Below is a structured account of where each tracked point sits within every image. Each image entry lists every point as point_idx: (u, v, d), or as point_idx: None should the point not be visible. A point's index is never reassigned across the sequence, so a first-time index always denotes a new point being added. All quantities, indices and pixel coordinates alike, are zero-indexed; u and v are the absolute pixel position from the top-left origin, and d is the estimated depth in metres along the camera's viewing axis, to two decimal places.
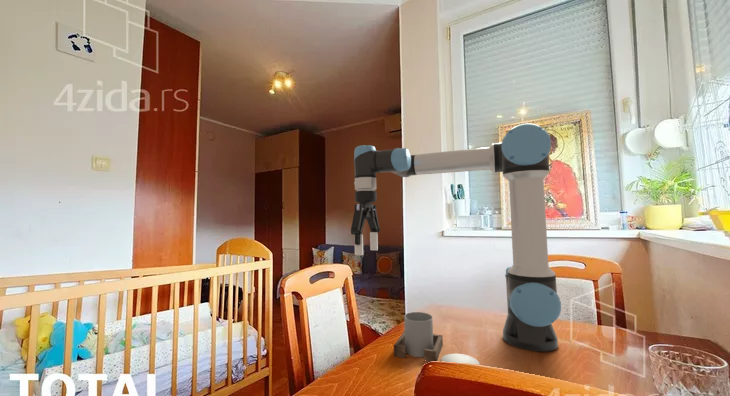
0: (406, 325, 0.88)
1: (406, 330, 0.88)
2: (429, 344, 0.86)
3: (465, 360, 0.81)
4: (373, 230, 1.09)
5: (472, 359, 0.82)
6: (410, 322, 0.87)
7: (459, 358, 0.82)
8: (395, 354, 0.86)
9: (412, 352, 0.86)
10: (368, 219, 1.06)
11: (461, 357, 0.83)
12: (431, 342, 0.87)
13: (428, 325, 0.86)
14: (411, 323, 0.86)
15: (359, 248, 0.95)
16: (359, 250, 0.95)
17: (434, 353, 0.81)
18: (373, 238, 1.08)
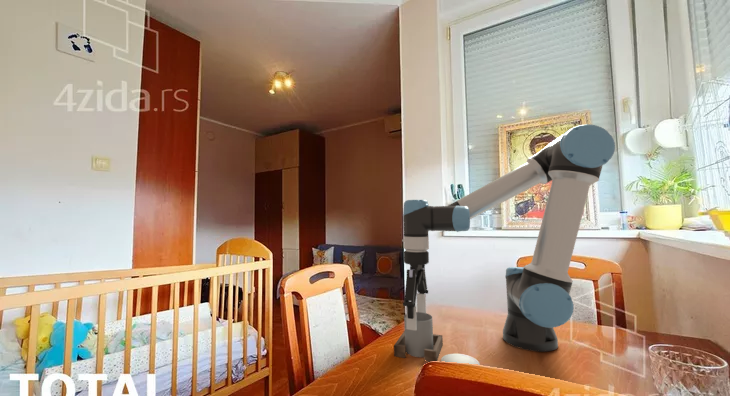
0: None
1: (406, 330, 0.88)
2: (429, 344, 0.86)
3: (465, 360, 0.81)
4: (421, 291, 0.97)
5: (472, 359, 0.82)
6: None
7: (459, 358, 0.82)
8: (395, 354, 0.86)
9: (412, 352, 0.86)
10: None
11: (461, 357, 0.83)
12: (431, 342, 0.87)
13: (428, 325, 0.86)
14: None
15: (412, 322, 0.83)
16: (412, 324, 0.83)
17: (434, 353, 0.81)
18: (421, 301, 0.96)
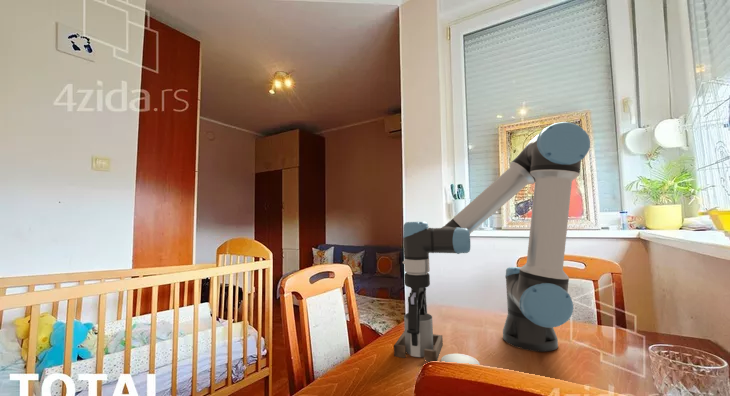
0: (406, 325, 0.88)
1: (406, 330, 0.88)
2: (429, 344, 0.86)
3: (465, 360, 0.81)
4: None
5: (472, 359, 0.82)
6: None
7: (459, 358, 0.82)
8: (395, 354, 0.86)
9: None
10: (417, 305, 0.92)
11: (461, 357, 0.83)
12: (431, 342, 0.87)
13: (428, 325, 0.86)
14: None
15: (416, 349, 0.85)
16: (416, 351, 0.84)
17: (434, 353, 0.81)
18: None
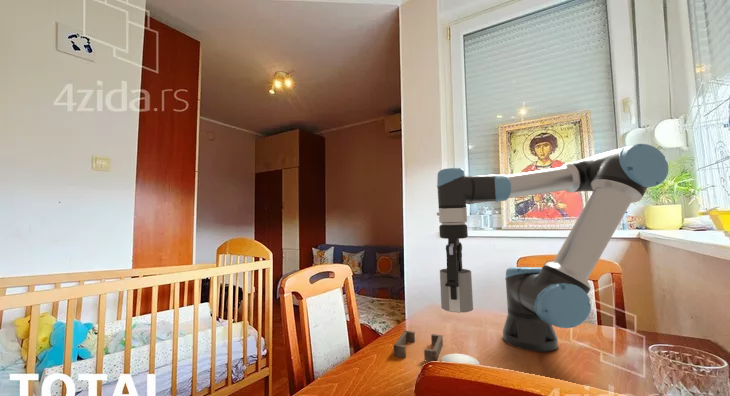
0: (443, 279, 0.81)
1: (443, 285, 0.81)
2: (468, 298, 0.79)
3: (465, 360, 0.81)
4: None
5: (472, 359, 0.82)
6: None
7: (459, 358, 0.82)
8: (395, 354, 0.86)
9: None
10: None
11: (461, 357, 0.83)
12: (471, 297, 0.79)
13: (467, 278, 0.79)
14: None
15: (455, 303, 0.78)
16: (456, 306, 0.77)
17: (434, 353, 0.81)
18: None
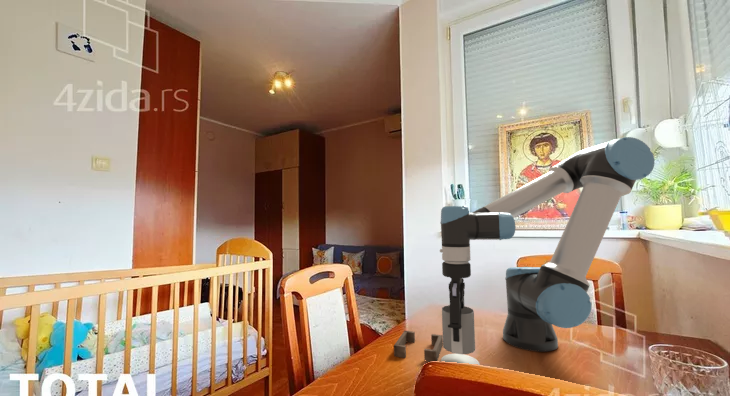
0: (445, 319, 0.80)
1: (445, 324, 0.80)
2: (471, 339, 0.78)
3: (465, 360, 0.81)
4: None
5: (472, 359, 0.82)
6: None
7: (459, 358, 0.82)
8: (395, 354, 0.86)
9: None
10: None
11: (461, 357, 0.83)
12: (473, 338, 0.79)
13: (469, 319, 0.78)
14: None
15: (457, 345, 0.77)
16: (458, 347, 0.76)
17: (434, 353, 0.81)
18: None
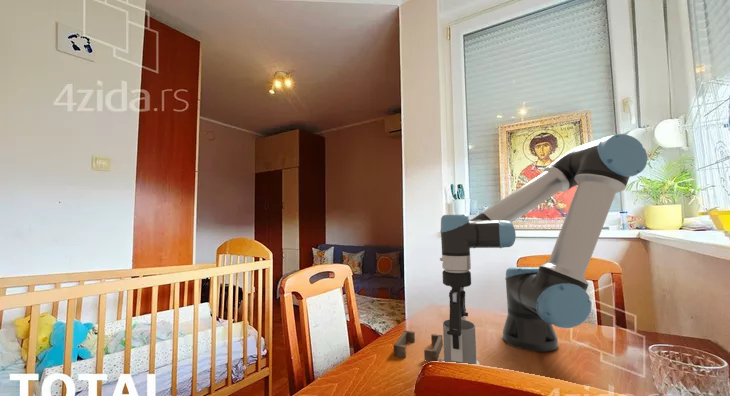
0: (446, 334, 0.80)
1: (446, 339, 0.80)
2: (472, 355, 0.78)
3: None
4: (460, 314, 0.88)
5: None
6: None
7: None
8: (395, 354, 0.86)
9: None
10: None
11: None
12: (474, 353, 0.78)
13: (471, 334, 0.78)
14: None
15: (457, 352, 0.74)
16: (458, 355, 0.74)
17: (434, 353, 0.81)
18: None
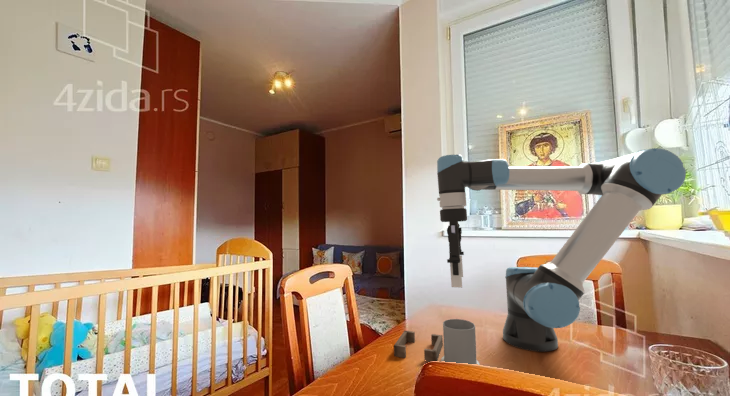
0: (446, 334, 0.80)
1: (446, 339, 0.80)
2: (472, 355, 0.78)
3: None
4: None
5: None
6: (451, 331, 0.78)
7: None
8: (395, 354, 0.86)
9: None
10: None
11: None
12: (474, 353, 0.78)
13: (471, 334, 0.78)
14: (453, 332, 0.78)
15: (457, 279, 0.79)
16: (458, 281, 0.79)
17: (434, 353, 0.81)
18: None
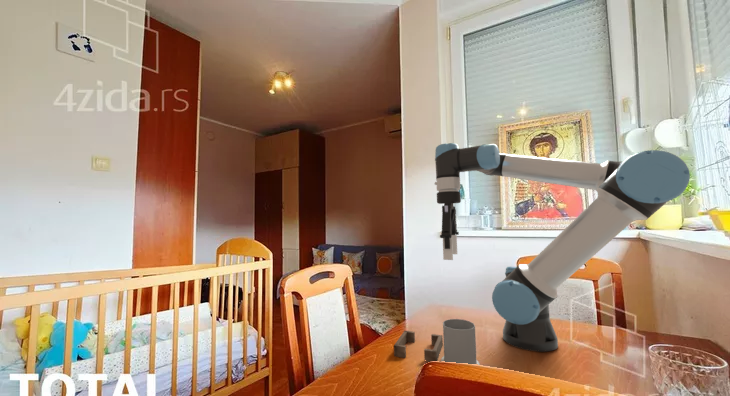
0: (446, 334, 0.80)
1: (446, 339, 0.80)
2: (472, 355, 0.78)
3: None
4: (451, 233, 1.04)
5: None
6: (451, 331, 0.78)
7: None
8: (395, 354, 0.86)
9: None
10: None
11: None
12: (474, 353, 0.78)
13: (471, 334, 0.78)
14: (453, 332, 0.78)
15: (448, 252, 0.90)
16: (449, 254, 0.90)
17: (434, 353, 0.81)
18: (452, 241, 1.03)
